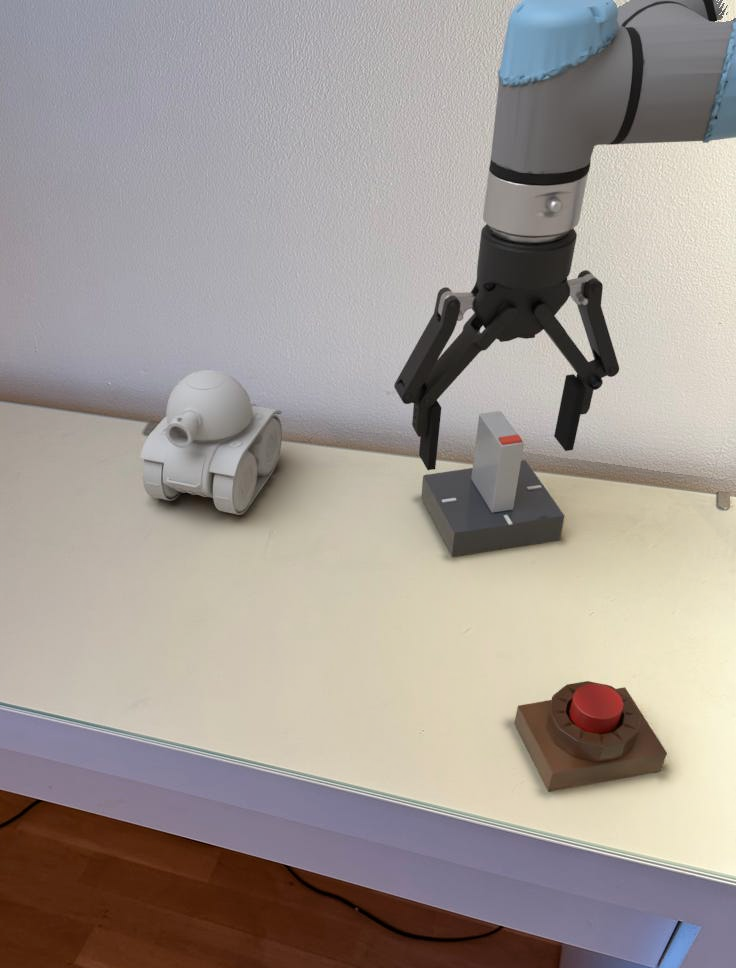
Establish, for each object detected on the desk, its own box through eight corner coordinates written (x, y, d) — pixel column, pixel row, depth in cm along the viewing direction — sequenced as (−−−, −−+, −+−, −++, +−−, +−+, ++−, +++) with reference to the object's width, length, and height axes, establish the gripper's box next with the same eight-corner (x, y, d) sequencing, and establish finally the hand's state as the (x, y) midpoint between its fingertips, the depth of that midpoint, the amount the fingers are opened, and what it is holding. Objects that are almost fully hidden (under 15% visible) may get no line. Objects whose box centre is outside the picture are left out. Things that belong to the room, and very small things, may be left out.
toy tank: (233, 534, 98) (223, 421, 89) (141, 514, 101) (123, 404, 92) (286, 456, 107) (282, 348, 98) (201, 440, 111) (189, 335, 102)
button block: (619, 705, 78) (630, 670, 75) (660, 771, 73) (673, 737, 70) (513, 723, 77) (520, 689, 75) (547, 791, 72) (556, 758, 70)
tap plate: (521, 483, 101) (525, 457, 99) (560, 541, 94) (565, 514, 92) (420, 498, 100) (422, 473, 98) (452, 558, 93) (455, 531, 91)
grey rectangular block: (470, 479, 97) (479, 411, 92) (491, 476, 97) (501, 408, 92) (491, 513, 93) (501, 444, 87) (513, 509, 93) (524, 440, 88)
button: (606, 695, 74) (610, 679, 73) (627, 729, 72) (632, 714, 70) (561, 703, 74) (565, 687, 73) (581, 737, 71) (585, 722, 70)
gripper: (392, 261, 73) (379, 492, 88) (699, 225, 76) (637, 456, 90) (366, 226, 79) (358, 448, 93) (653, 193, 81) (602, 415, 96)
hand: (495, 452), depth 92 cm, fingers open, 13 cm apart
